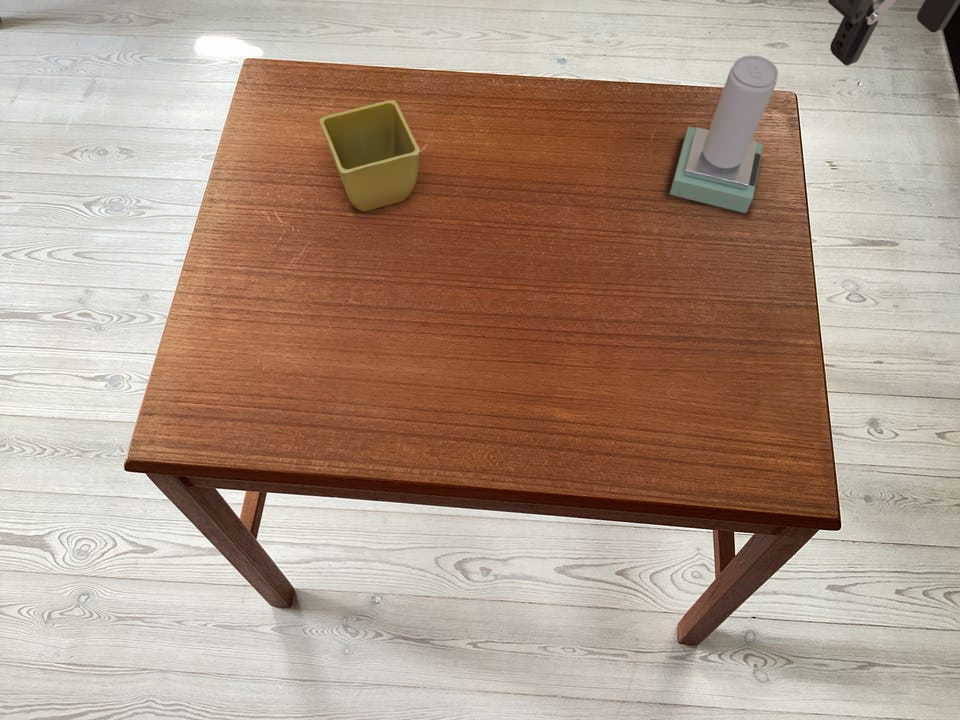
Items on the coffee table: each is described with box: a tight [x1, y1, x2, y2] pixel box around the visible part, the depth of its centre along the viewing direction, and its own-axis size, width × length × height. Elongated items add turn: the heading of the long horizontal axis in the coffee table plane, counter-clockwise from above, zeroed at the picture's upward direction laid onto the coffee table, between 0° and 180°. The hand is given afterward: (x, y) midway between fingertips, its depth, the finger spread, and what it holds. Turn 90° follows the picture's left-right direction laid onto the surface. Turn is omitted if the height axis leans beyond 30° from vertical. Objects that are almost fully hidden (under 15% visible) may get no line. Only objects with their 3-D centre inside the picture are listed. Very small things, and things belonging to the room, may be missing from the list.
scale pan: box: [684, 126, 758, 190], centre depth 89 cm, size 7×7×1 cm
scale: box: [669, 126, 764, 214], centre depth 90 cm, size 9×9×3 cm
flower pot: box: [319, 99, 421, 213], centre depth 86 cm, size 9×9×9 cm
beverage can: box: [703, 55, 779, 169], centre depth 83 cm, size 5×5×12 cm
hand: (886, 41), depth 58 cm, fingers open, 8 cm apart
